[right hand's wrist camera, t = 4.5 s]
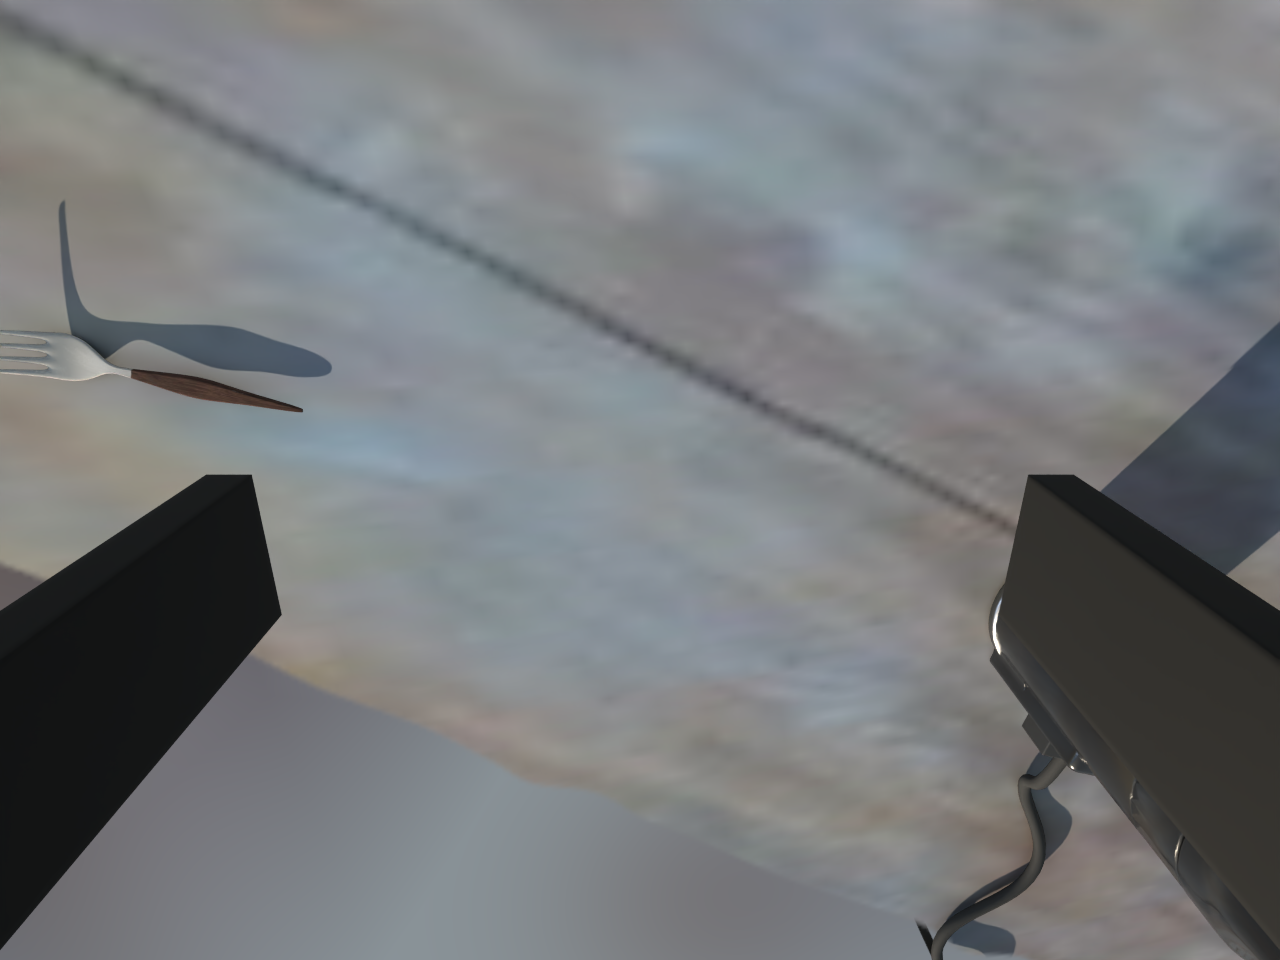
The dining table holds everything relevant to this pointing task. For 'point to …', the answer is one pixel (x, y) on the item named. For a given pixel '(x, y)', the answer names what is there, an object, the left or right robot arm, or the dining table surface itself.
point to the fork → (121, 370)
